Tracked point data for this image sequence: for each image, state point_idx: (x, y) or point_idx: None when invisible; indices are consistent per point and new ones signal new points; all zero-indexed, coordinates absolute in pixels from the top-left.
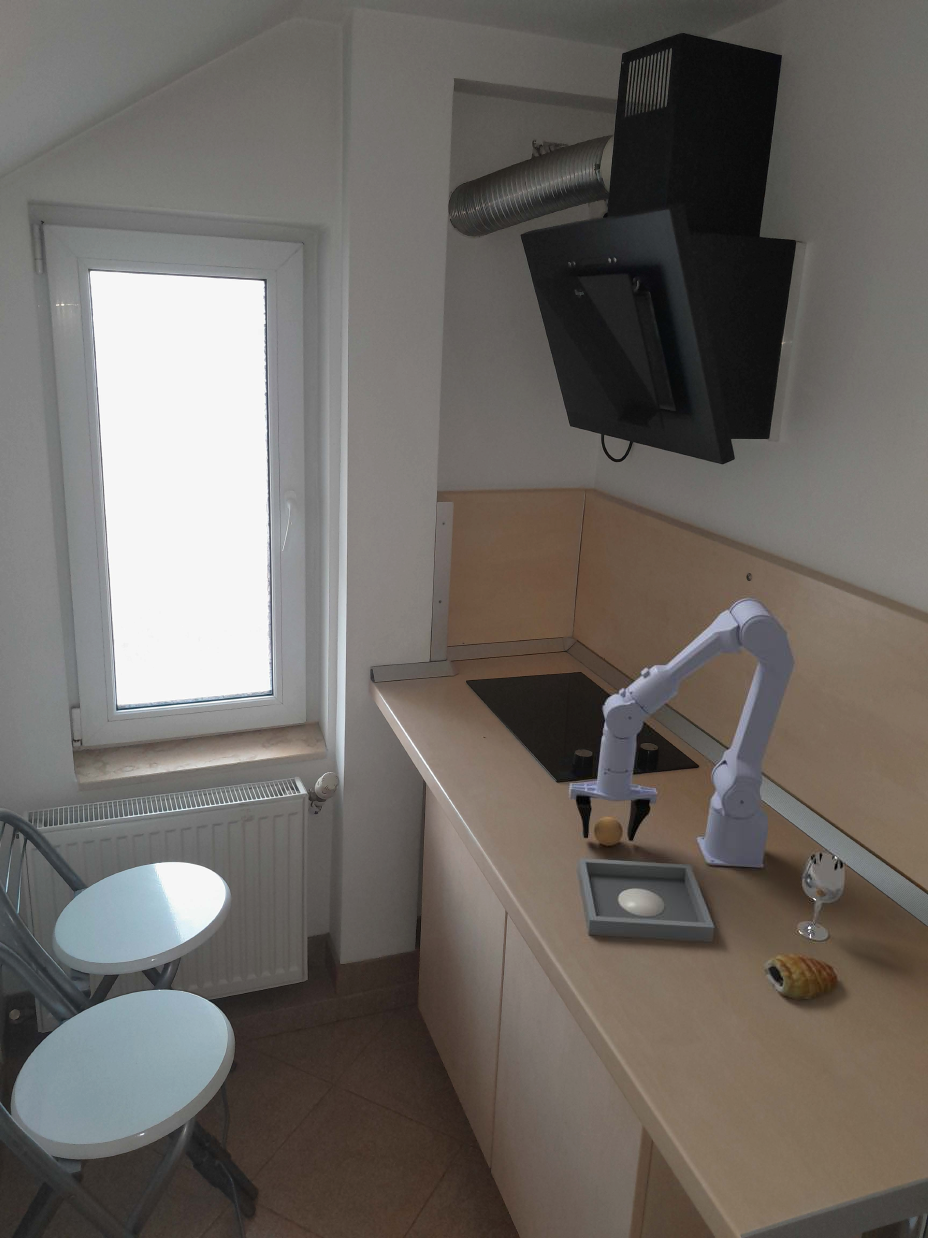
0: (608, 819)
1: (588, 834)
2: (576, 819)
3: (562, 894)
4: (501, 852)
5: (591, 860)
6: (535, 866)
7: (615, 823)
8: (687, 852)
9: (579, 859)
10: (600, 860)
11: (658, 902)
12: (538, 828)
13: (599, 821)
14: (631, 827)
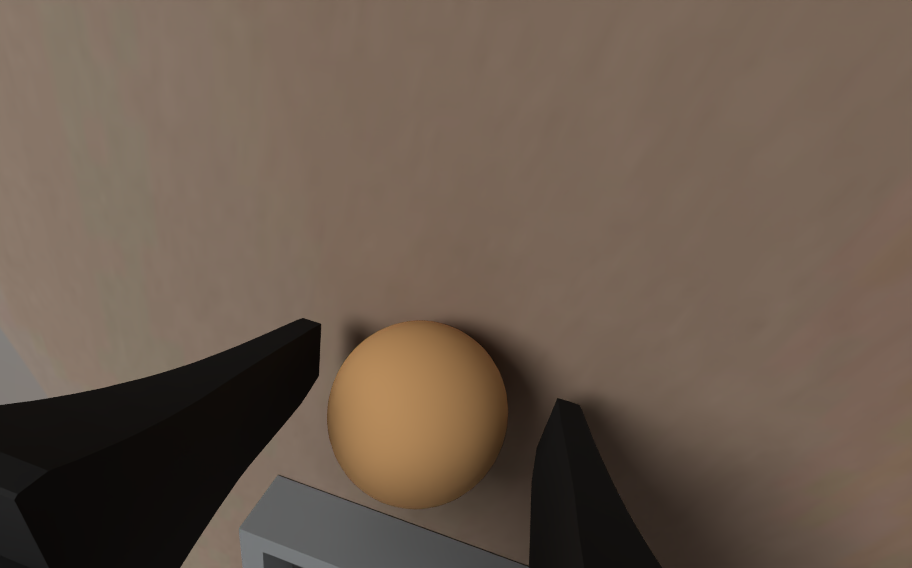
0: (374, 485)
1: (301, 402)
2: (326, 65)
3: (229, 534)
4: (18, 313)
5: (285, 553)
6: None
7: (422, 506)
8: (870, 522)
9: (241, 534)
10: (319, 565)
11: None
12: (113, 153)
13: (331, 433)
14: (535, 531)
